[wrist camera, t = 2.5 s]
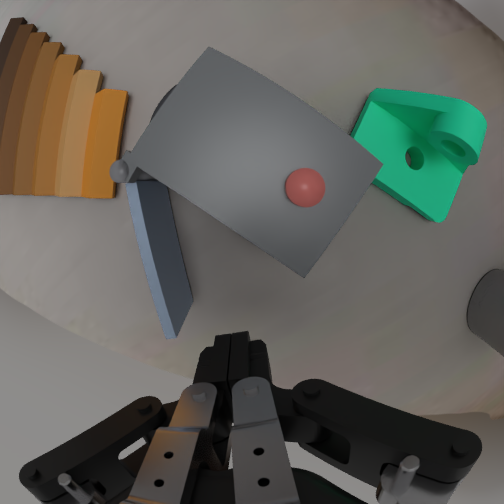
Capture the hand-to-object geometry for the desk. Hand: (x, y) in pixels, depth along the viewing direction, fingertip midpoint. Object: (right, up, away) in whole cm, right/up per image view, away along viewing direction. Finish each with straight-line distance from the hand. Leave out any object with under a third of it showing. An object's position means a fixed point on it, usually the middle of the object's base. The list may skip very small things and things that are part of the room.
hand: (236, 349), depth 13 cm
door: (-6, +6, +12) cm, 15 cm away
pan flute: (-23, +23, +9) cm, 34 cm away
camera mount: (+15, +14, +12) cm, 23 cm away
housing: (0, +11, +11) cm, 16 cm away
